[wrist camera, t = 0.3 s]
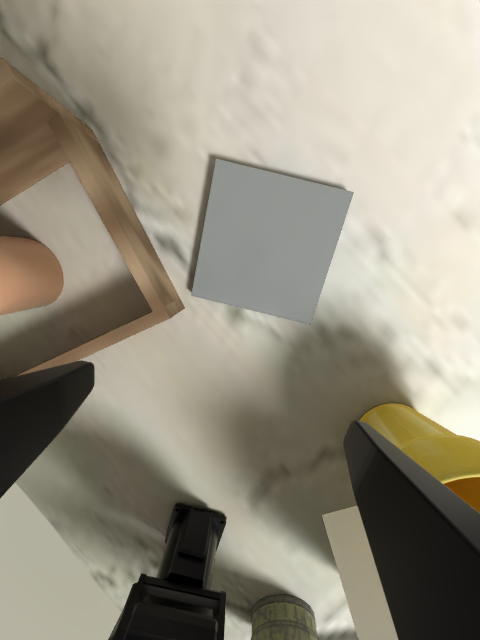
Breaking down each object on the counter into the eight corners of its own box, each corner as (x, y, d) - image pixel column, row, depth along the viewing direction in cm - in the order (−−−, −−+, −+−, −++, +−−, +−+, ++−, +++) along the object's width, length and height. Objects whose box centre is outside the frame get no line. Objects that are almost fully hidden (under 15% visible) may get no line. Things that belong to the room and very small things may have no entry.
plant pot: (314, 431, 25) (352, 538, 15) (394, 365, 22) (497, 442, 13) (380, 486, 26) (454, 617, 16) (462, 429, 24) (603, 543, 14)
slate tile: (308, 322, 22) (310, 324, 21) (193, 294, 22) (191, 295, 21) (349, 194, 19) (353, 192, 18) (217, 162, 19) (216, 158, 18)
